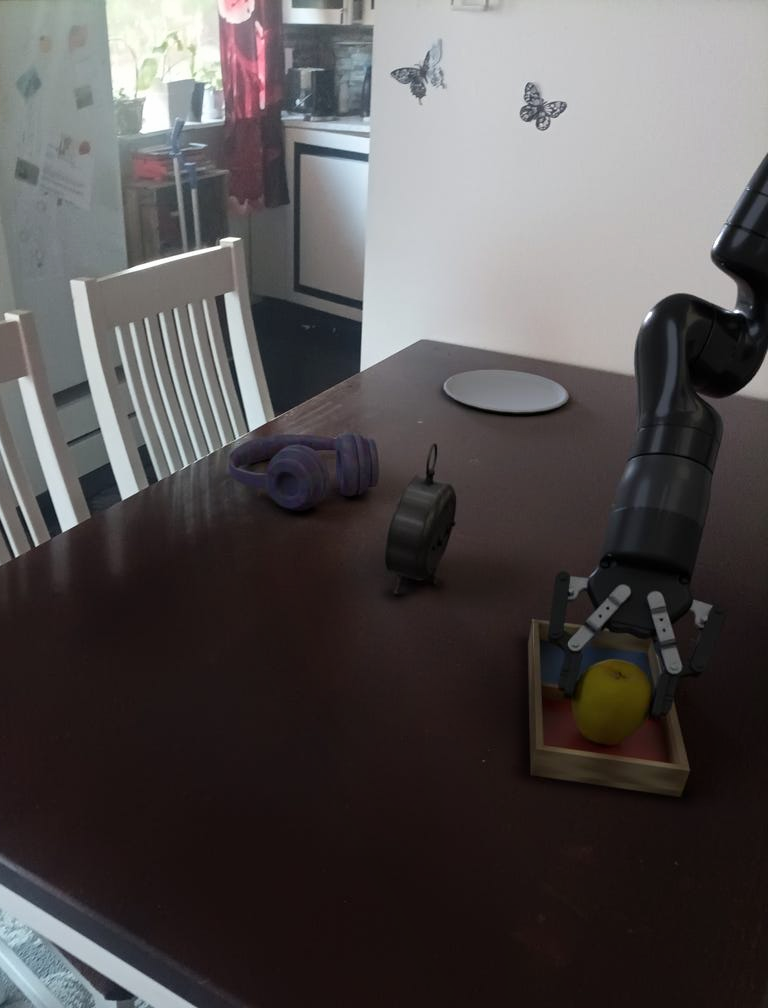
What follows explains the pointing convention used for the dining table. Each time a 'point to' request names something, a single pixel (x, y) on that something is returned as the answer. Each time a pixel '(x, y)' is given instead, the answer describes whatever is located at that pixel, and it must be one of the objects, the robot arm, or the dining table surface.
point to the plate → (506, 391)
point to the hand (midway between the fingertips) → (610, 708)
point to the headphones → (306, 467)
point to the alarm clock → (420, 527)
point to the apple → (611, 701)
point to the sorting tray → (569, 756)
